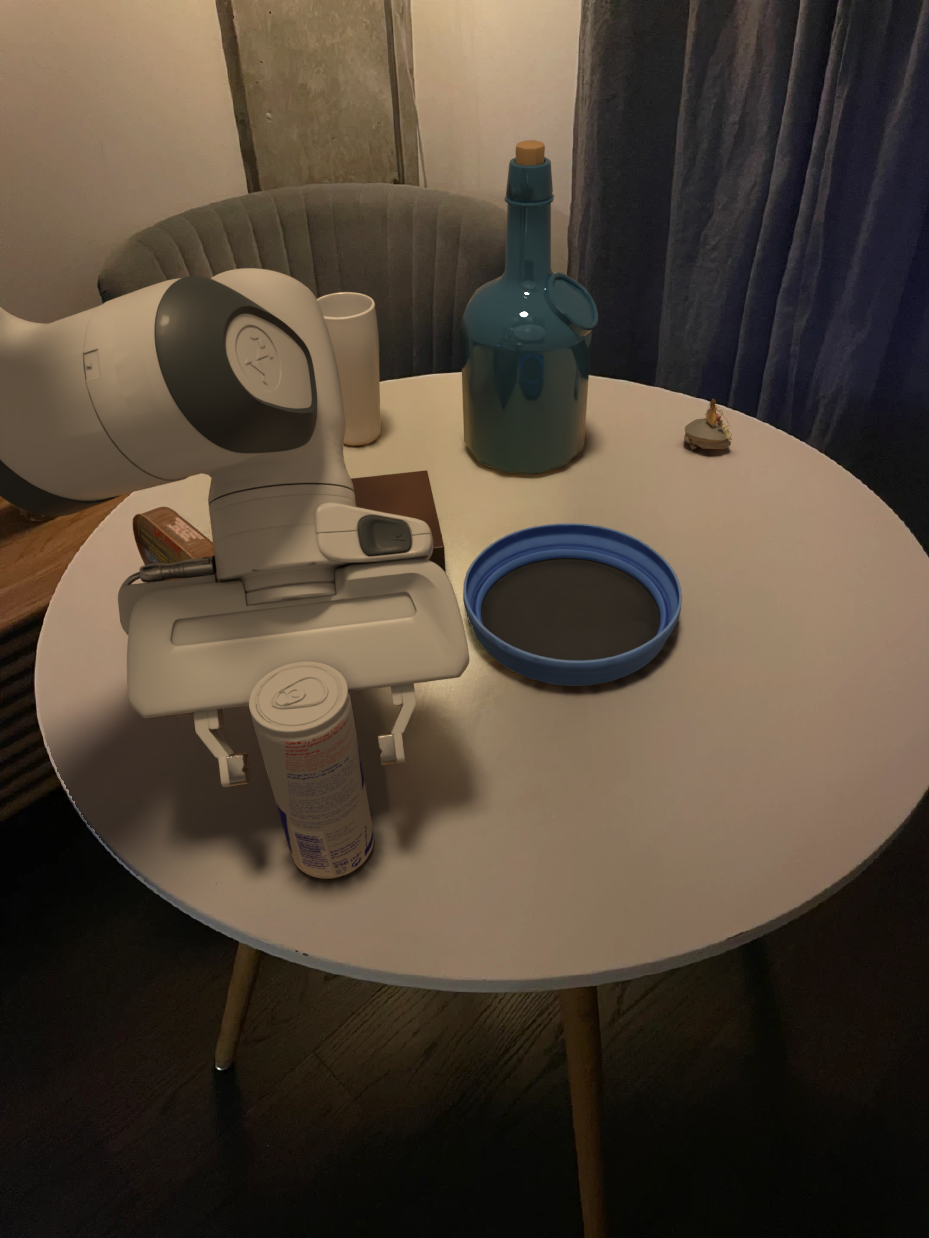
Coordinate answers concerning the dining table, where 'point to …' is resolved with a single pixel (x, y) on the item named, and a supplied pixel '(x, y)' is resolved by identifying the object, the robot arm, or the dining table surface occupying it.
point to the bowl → (571, 603)
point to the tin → (168, 538)
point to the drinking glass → (356, 361)
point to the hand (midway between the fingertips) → (315, 773)
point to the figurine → (708, 431)
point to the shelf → (403, 502)
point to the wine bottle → (527, 340)
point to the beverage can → (314, 766)
